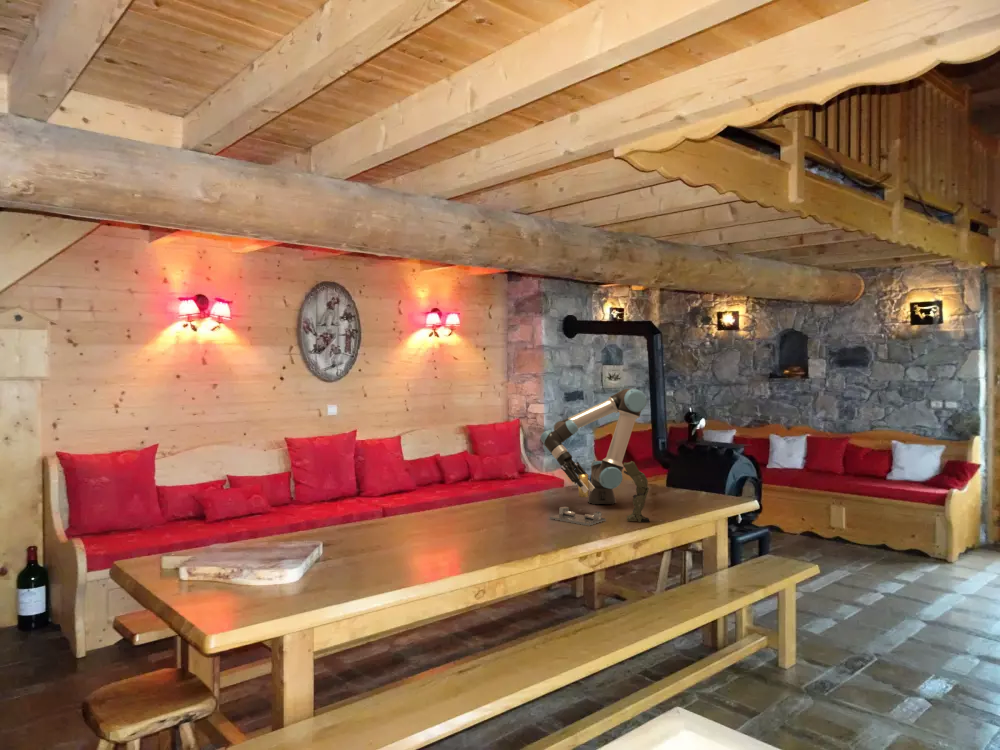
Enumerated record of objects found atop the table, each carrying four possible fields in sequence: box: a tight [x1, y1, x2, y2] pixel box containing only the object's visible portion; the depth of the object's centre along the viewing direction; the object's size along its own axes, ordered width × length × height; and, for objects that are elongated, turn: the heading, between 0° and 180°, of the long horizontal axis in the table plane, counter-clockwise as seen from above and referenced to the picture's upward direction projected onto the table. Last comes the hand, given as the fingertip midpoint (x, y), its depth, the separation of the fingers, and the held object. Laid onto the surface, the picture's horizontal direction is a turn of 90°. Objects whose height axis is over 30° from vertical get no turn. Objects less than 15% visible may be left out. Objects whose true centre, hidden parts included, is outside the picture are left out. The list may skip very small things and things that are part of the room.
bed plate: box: [549, 506, 607, 527], centre depth 344 cm, size 23×14×5 cm, turn 50°
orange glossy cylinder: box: [577, 473, 590, 498], centre depth 360 cm, size 5×5×11 cm
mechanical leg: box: [622, 460, 651, 523], centre depth 343 cm, size 14×7×30 cm, turn 84°
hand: (589, 490), depth 357 cm, fingers closed on orange glossy cylinder, 5 cm apart
